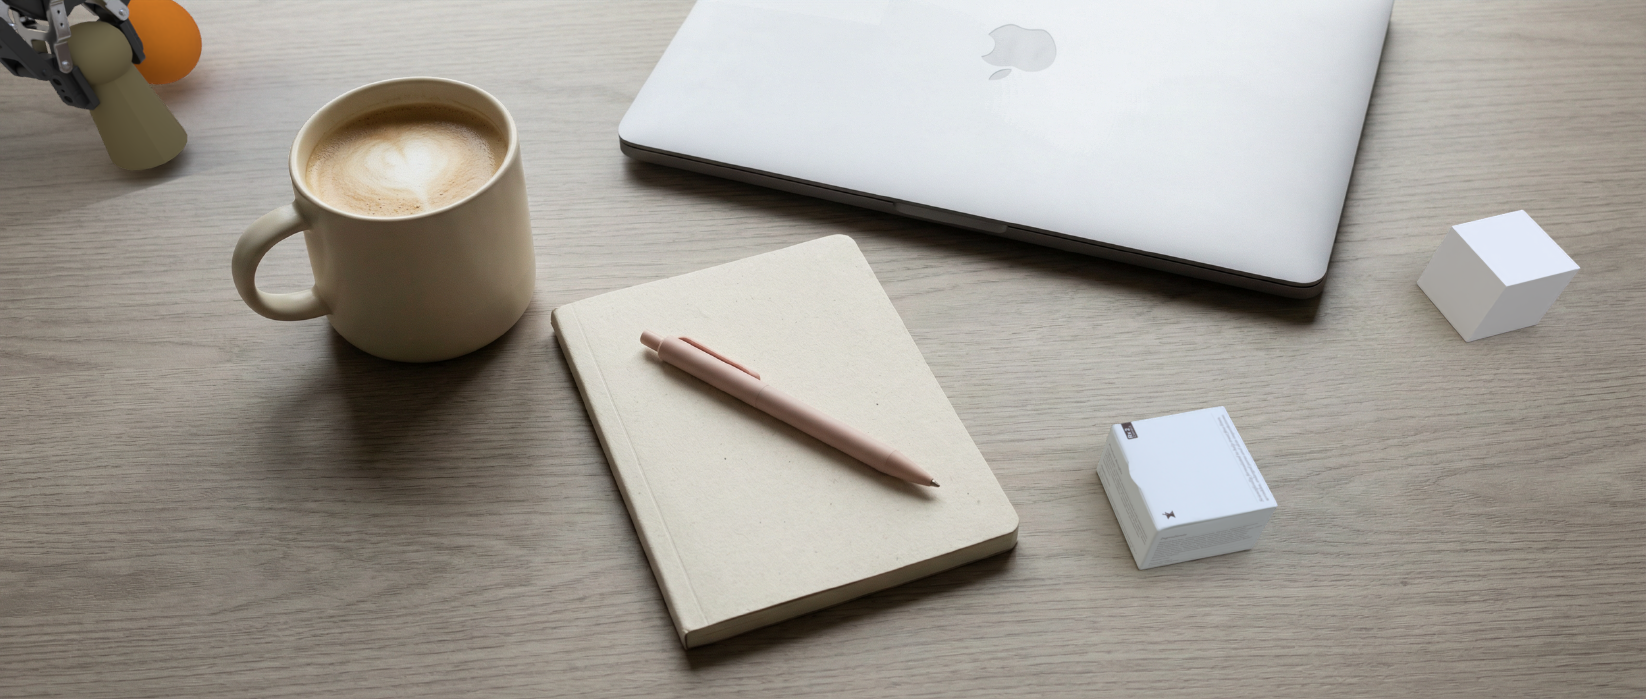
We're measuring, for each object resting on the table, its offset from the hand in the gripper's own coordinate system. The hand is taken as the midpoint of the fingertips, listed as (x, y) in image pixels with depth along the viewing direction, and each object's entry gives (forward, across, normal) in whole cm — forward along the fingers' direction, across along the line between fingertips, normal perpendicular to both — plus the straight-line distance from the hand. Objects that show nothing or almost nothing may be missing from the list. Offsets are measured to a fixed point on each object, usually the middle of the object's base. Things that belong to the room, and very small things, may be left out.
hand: (110, 82), depth 88 cm
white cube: (+7, -8, +105) cm, 106 cm away
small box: (+7, +15, +84) cm, 86 cm away
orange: (+3, -9, -4) cm, 10 cm away
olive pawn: (+7, 0, 0) cm, 7 cm away
